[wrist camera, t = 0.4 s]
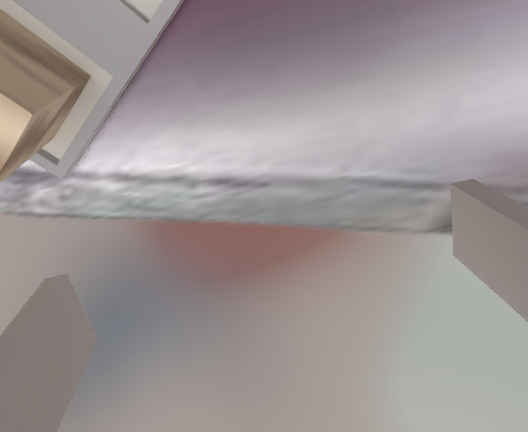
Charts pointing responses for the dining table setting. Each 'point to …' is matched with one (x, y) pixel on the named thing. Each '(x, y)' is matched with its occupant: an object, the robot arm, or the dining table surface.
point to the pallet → (92, 59)
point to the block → (32, 93)
